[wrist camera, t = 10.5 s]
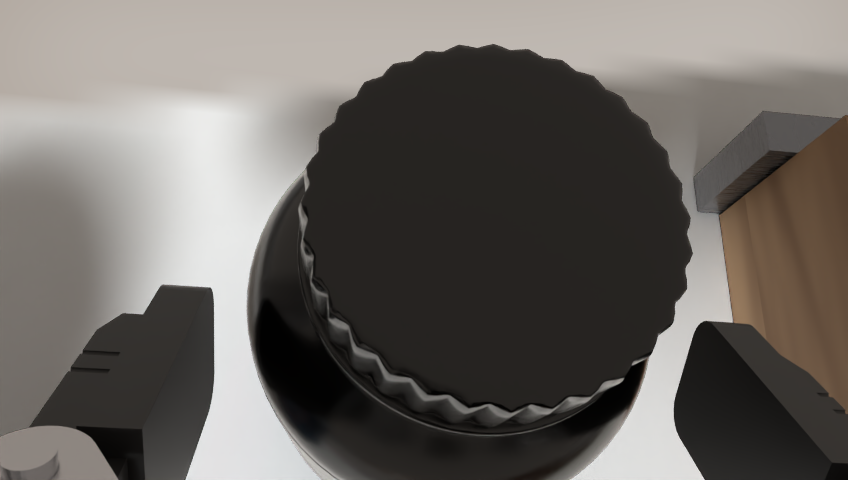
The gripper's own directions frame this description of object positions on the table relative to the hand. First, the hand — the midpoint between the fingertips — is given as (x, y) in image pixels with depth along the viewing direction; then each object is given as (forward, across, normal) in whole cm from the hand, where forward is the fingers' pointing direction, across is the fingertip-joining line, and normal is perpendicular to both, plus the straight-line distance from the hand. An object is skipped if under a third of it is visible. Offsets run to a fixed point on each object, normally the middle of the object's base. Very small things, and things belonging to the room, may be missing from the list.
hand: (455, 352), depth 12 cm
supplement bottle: (+6, 0, +5) cm, 8 cm away
